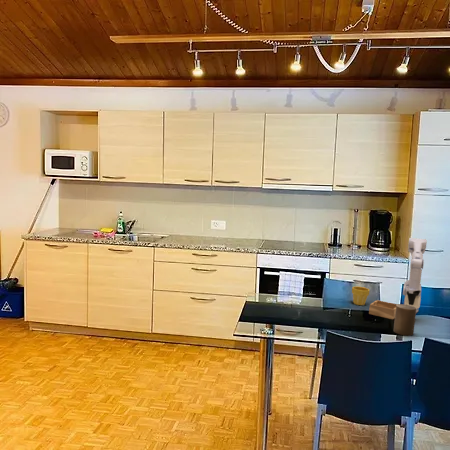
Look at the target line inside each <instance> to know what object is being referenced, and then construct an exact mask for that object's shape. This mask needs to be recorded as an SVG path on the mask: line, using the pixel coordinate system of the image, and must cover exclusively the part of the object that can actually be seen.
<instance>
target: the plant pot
mask: <svg viewBox="0 0 450 450" xmlns="http://www.w3.org/2000/svg"><path fill="white" fill-rule="evenodd" d="M351 293H352V300H353V304H354V305H357V306H365V305H366V301H367V299H368V297H369V295H370V288H367V287H363V286H357V285H356V286H355V285H354V286H352V289H351Z"/></svg>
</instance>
